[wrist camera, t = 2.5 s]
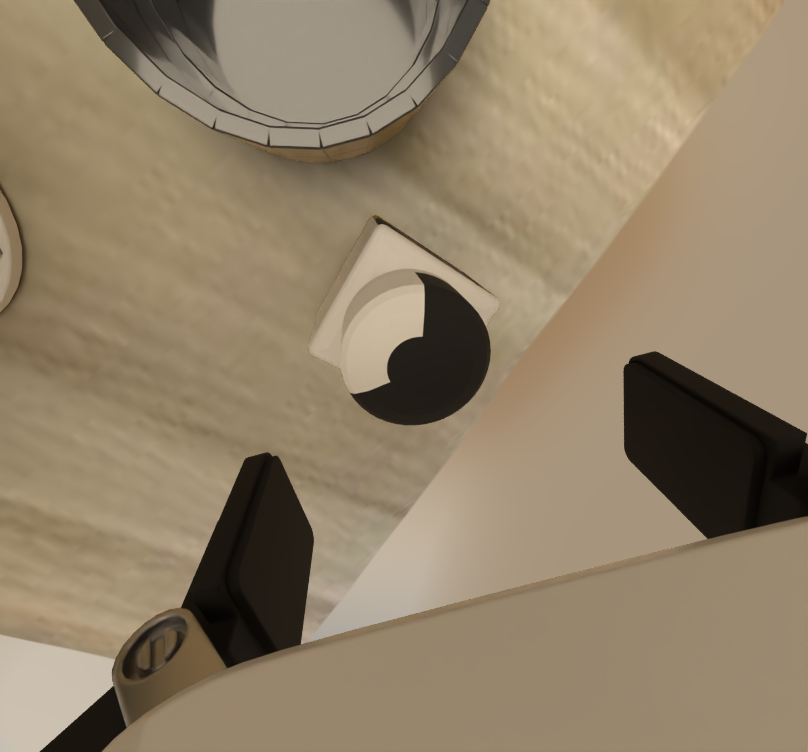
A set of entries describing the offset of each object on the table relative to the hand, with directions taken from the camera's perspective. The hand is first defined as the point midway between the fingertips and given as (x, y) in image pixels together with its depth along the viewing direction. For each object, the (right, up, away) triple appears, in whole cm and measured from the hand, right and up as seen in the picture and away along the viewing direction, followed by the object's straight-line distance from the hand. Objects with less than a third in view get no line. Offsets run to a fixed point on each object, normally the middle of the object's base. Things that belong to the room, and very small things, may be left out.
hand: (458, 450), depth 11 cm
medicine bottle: (-2, +7, +16) cm, 18 cm away
